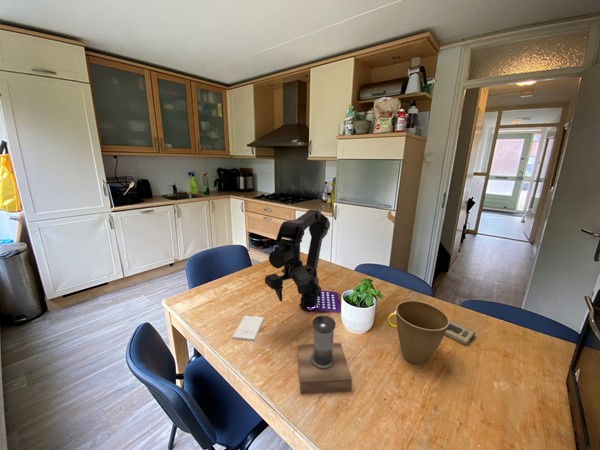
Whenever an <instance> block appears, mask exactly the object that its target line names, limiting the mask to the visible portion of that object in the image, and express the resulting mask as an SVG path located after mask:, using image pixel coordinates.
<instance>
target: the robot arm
mask: <svg viewBox="0 0 600 450" xmlns="http://www.w3.org/2000/svg"><path fill="white" fill-rule="evenodd" d="M330 227H331V223H330V220H329V217H327V216H326V215H325V214H323V213H322V212H321V211H320V210H316V209H307V210H306V212H305V213H303V214H302V215H300V216H299V217H298V218H295V219H289V220H285V221H283V222H282V223H281V225H280V227H279V230H278V233H277V236H276V238H275V242H274V243H275V244H278V245H276V246H273V247H274V248H273V251H271V252H270V253H269V256H268V262H269V264H270V265H271V267H273V268H274V269H281V268H283V269H281V272H282V275H278V274H277V273H271V274H268V275H266V276H265V278H264V284H265V285H267V286H268V287H269V288H270V289H271V290H274V292H275V294H276V296H277V298H278V300H279V301H280V302H283V289H284V286H283V284H284V282H285V281H288V280H292V281H293V282H294V283H295V285H296V287H297V292H298V294H299V295H300V294H301V297H300V303H299V307H301V308H302V309H303V310H304V311H306V312H307V313H309V312H311V310H308V309H307V307H314V306H315V305H316V303H317V304H318V298H319V297H321V293H322V287H321V286H320V285H319V281H320V279H319V277H318V266H319V259H320V254H321V249H322V248H321V247H322V242H323V239H324V238H325V237H326V235H328V232H329V230H330ZM307 229H308V232H309V234H310V242H309V248H308V252H307V257H306V258H307V259H306V264H305V265H303V261H302V260H301V243H302V242H303V237H304V235H305V230H307Z"/></svg>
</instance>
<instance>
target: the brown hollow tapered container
mask: <svg viewBox="0 0 600 450" xmlns="http://www.w3.org/2000/svg"><path fill="white" fill-rule="evenodd" d="M395 311H396V316H395V318H396V325H397V327H396V329H397V336H398V341H399V346H400V348H401V352H402V355H403V357H404V359H406V361H408V362H410V363H411V364H413V365H418V366H419V365H426V364H427V362H429V360H430V359H431V358H432V357H433V356H434V354H435V353H436V351H437V349H438V348H439V346H440V345H441V342H442V341H443V340H444V337H445V336H446V335H445V333H446V330H447V328H448V325H449V319H450V318H449V316H447V314H446V313H445V312H444V311H442V310H441V309H440V308H438V307H436V306H434V305H432V304H430V303H427V302H424V301H419V300H405V301H401V302H399V303H398V304H397V305H396V306H395Z"/></svg>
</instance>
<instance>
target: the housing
mask: <svg viewBox="0 0 600 450" xmlns="http://www.w3.org/2000/svg"><path fill="white" fill-rule="evenodd" d="M312 327H313V344H314V347H313V354H312V356H311V362H312V364H313V365H314V366H315V367H316V368H318V369H323V370H324V369H329V368H331V367H332V366H333V364H334V356H333V355H332V352H333V343H334V330H335V329H336V321H335V319H333V318H332V317H331V316H328V315H318V316H315V317H314V318H313V320H312Z"/></svg>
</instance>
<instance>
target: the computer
mask: <svg viewBox="0 0 600 450" xmlns="http://www.w3.org/2000/svg"><path fill="white" fill-rule="evenodd" d="M448 319H449V325H448V328H447V330H446V333H445V335H444V336H446V337H447V338H450V339H452V340H453V341H456V342H457V343H460V344H461V345H463V346H468V345H469V344H470V343H471V341H472V340H473V339H474V338H475V337H476V331H475V330H473V329H471V328H469V327H467V326H464V325H463V324H460V323H458V322H456V321H454V320H452V319H450V318H448Z"/></svg>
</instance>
